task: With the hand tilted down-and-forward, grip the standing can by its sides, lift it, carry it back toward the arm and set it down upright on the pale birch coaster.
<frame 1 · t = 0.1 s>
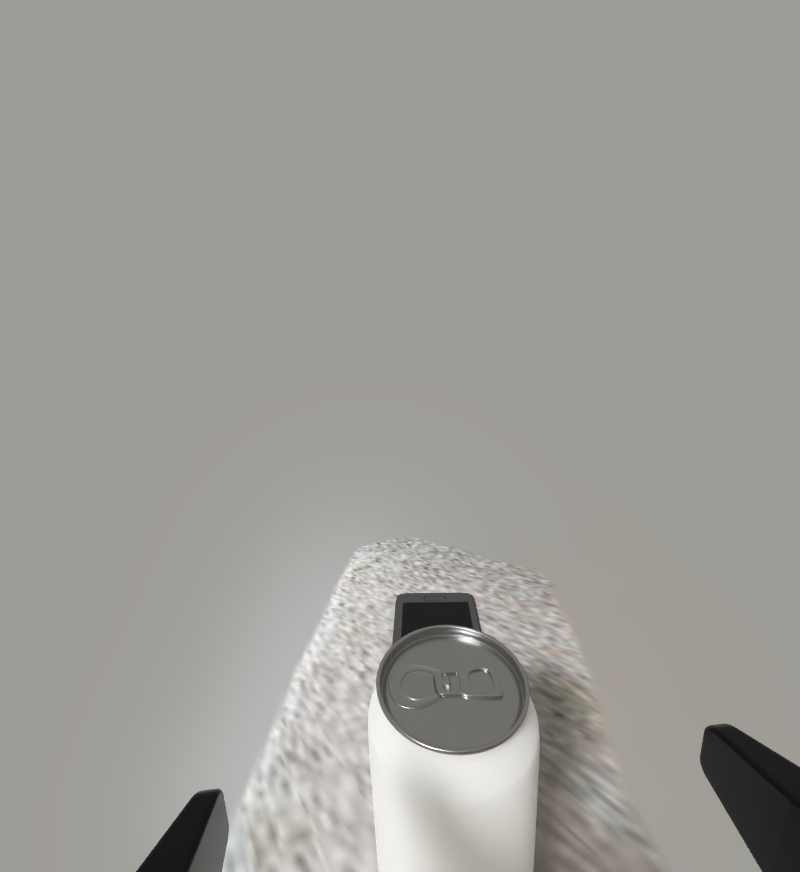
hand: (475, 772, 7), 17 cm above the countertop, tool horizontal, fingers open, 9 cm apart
cell phone: (438, 656, 32), on the countertop
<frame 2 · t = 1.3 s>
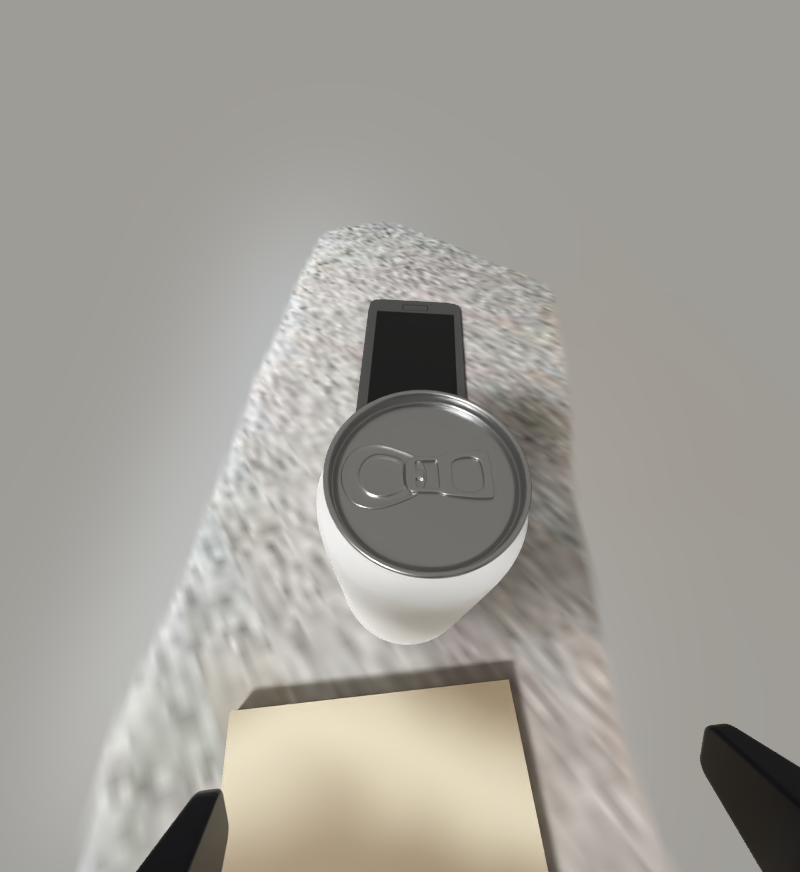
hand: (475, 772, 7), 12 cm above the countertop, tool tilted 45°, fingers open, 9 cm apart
cell phone: (412, 373, 29), on the countertop
can: (405, 577, 21), on the countertop
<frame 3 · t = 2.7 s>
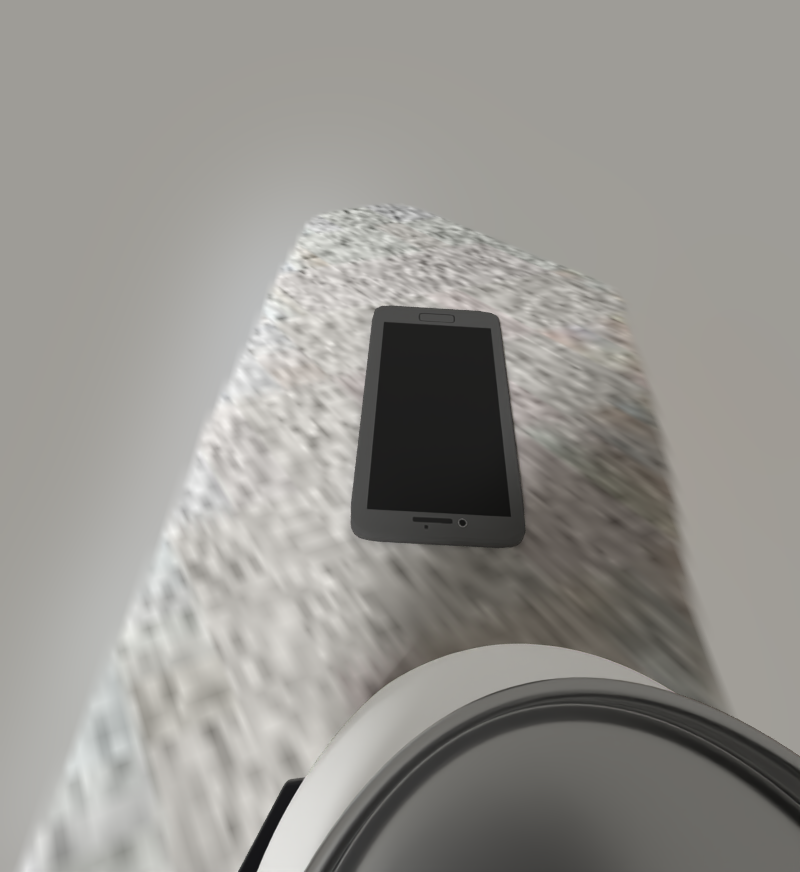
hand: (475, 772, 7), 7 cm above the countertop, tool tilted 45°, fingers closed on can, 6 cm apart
cell phone: (435, 413, 20), on the countertop
can: (439, 790, 12), on the countertop, touching gripper
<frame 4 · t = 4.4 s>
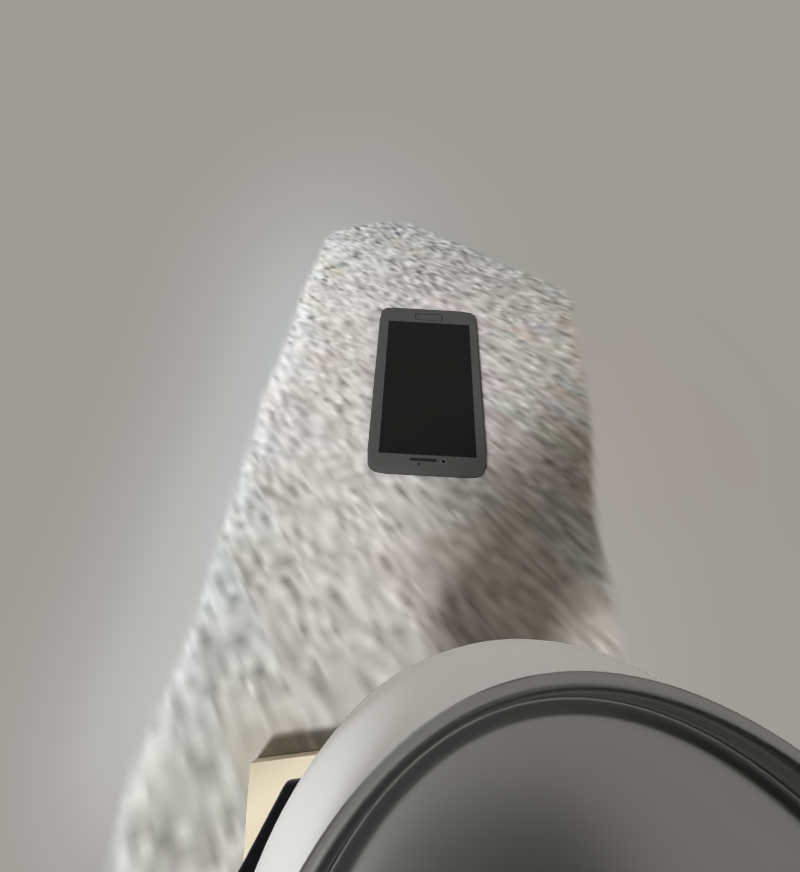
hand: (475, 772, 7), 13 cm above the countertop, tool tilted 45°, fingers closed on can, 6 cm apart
cell phone: (426, 388, 28), on the countertop
can: (438, 787, 12), point 6 cm above the countertop, touching gripper
when the fingers open (8 cm above the countertop, at t = 6.1 s): can stays where it is, resting on coaster.
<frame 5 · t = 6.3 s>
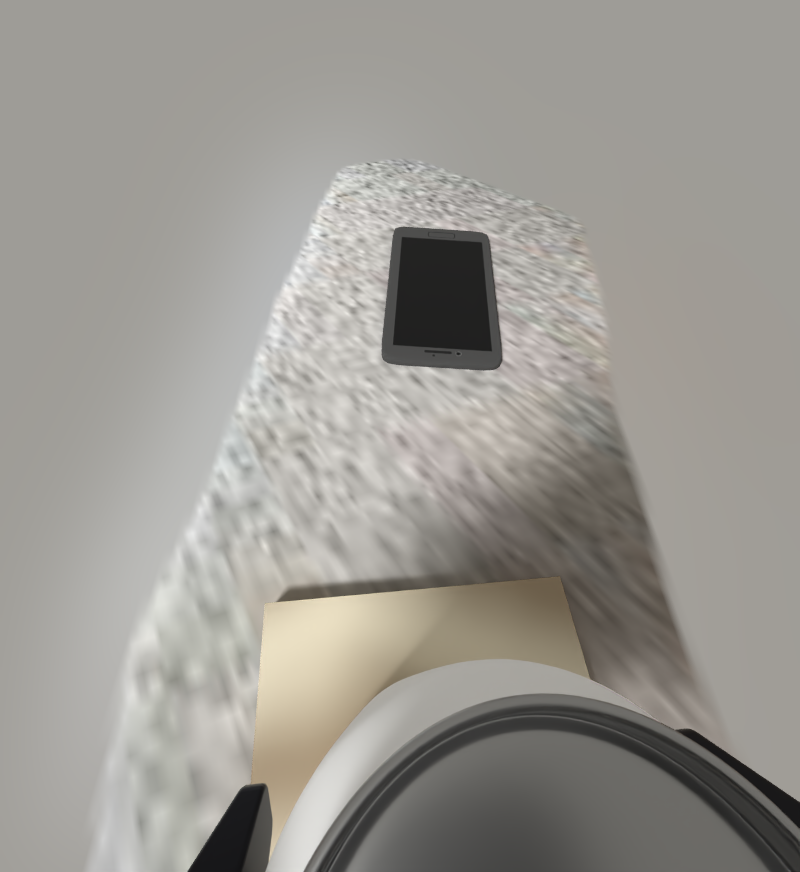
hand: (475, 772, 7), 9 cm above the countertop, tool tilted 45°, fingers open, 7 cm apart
cell phone: (439, 297, 28), on the countertop
can: (433, 789, 13), point 1 cm above the countertop, touching coaster
coaster: (434, 776, 14), on the countertop
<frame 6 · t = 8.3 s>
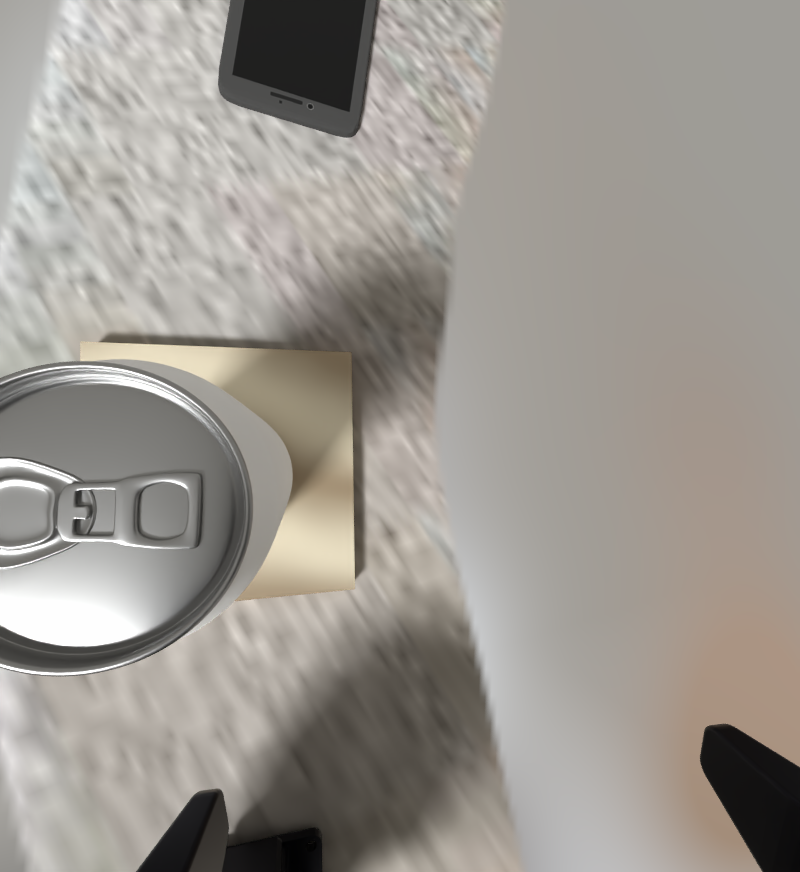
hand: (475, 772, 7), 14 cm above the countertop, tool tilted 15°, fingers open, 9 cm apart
cell phone: (307, 13, 22), on the countertop
can: (223, 476, 19), point 1 cm above the countertop, touching coaster
coaster: (230, 472, 20), on the countertop
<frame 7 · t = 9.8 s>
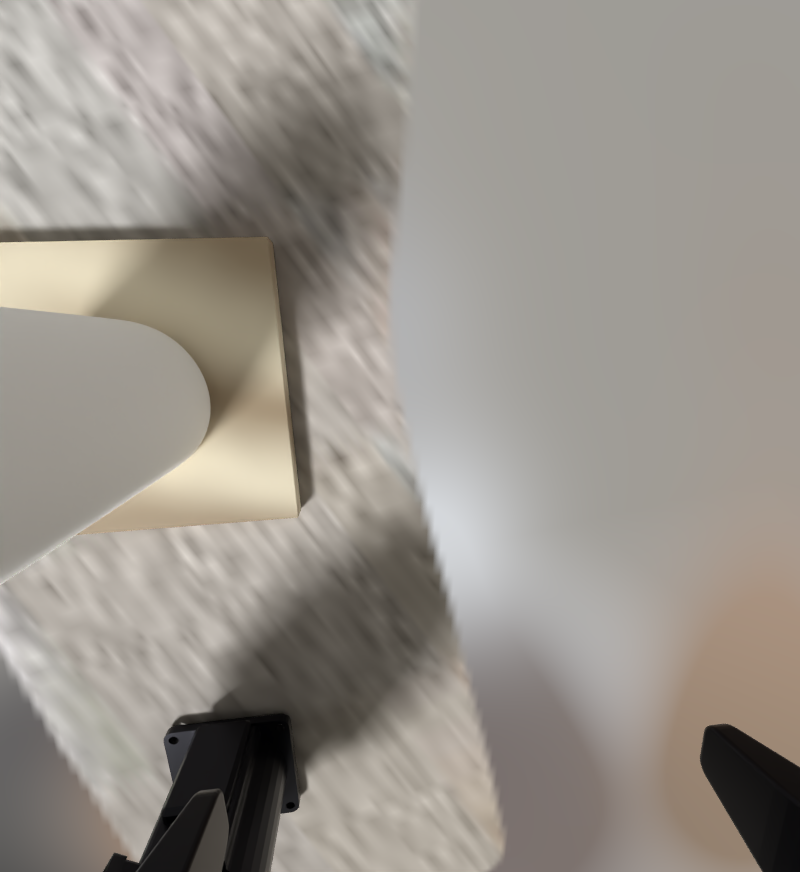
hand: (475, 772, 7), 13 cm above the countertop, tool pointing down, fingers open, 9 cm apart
can: (137, 399, 17), point 1 cm above the countertop, touching coaster
coaster: (150, 393, 18), on the countertop
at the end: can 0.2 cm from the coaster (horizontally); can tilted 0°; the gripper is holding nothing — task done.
